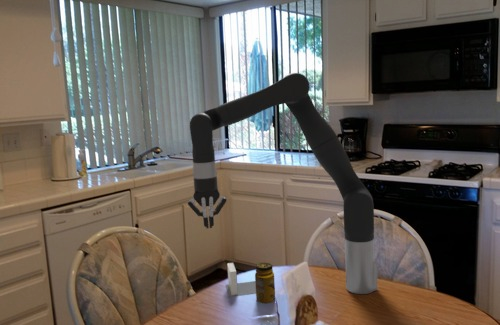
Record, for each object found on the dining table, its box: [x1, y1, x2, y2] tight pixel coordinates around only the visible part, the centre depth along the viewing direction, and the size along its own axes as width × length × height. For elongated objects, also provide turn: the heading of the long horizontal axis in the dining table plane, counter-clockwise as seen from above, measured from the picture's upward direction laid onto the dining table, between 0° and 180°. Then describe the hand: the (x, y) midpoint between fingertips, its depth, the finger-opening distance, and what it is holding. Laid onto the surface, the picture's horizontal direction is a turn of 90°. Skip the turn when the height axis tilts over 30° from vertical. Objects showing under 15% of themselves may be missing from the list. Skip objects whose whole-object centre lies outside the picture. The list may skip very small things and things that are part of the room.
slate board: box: [225, 280, 256, 298], centre depth 156 cm, size 13×10×1 cm
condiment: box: [254, 262, 276, 304], centre depth 146 cm, size 7×8×12 cm
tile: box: [226, 262, 238, 295], centre depth 155 cm, size 2×8×8 cm, turn 10°
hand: (208, 227), depth 151 cm, fingers closed
